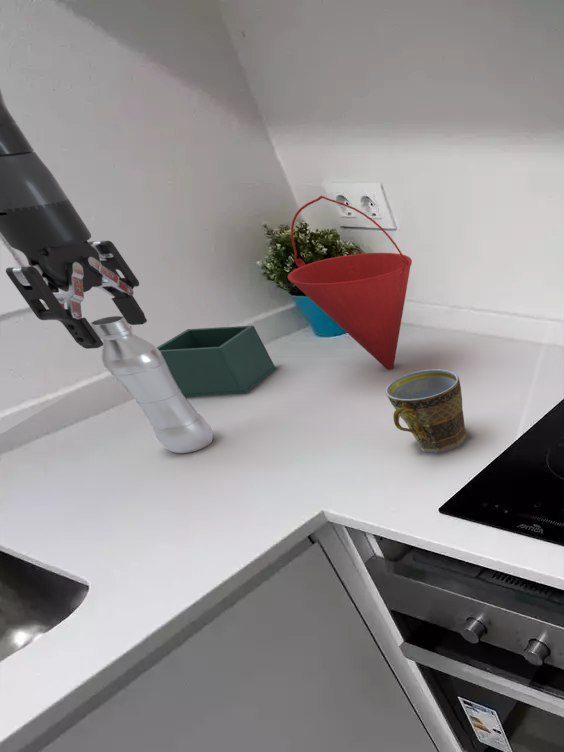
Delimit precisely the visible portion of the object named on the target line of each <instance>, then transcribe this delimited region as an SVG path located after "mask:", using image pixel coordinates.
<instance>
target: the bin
mask: <svg viewBox="0 0 564 752" xmlns="http://www.w3.org/2000/svg"><path fill="white" fill-rule="evenodd" d="M156 348H157V349H158V350H160V352H161V353H162V355H163V357H164V359H165V361H166V363H167V366H168V368H169V370H170V372H171V374H172V376H173V378H174V380H175V382H176V383H177V385H178V388H179V389H180V390H181V392H182V393H183V395H184V396H185V398H192V397H193V398H194V397H208V396H224V395H225V396H226V395H239V394H240V395H241V394H242V395H243V394H248V393H249V392H250V391H252V390H253V389H254V388H255V387H256V386H257V385H258V384H260V383H261V382H262V381H263V380H264V379H265V378H267V377H268V376H269V375H270V374H271V373H272V372H274V371H275V370H276V369H277V367H276V366H275V364H274V362H273V360H272V359H271V357H270V354H269V352H268V351H267V349H266V347H265V345H264V342H263V341H262V339H261V337H260V335H259V334H258V331H257V329H256V327H255V325H237V326H235V325H234V326H221V327H220V326H219V327H201V328H187V329H185V330H184V331H182V332H181V333H179V334H177V335H175V336H173V337H172V338H171V339H170V338H169V340H167V341H165V342H163V343H162V344H160V345H158V346H156Z"/></svg>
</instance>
